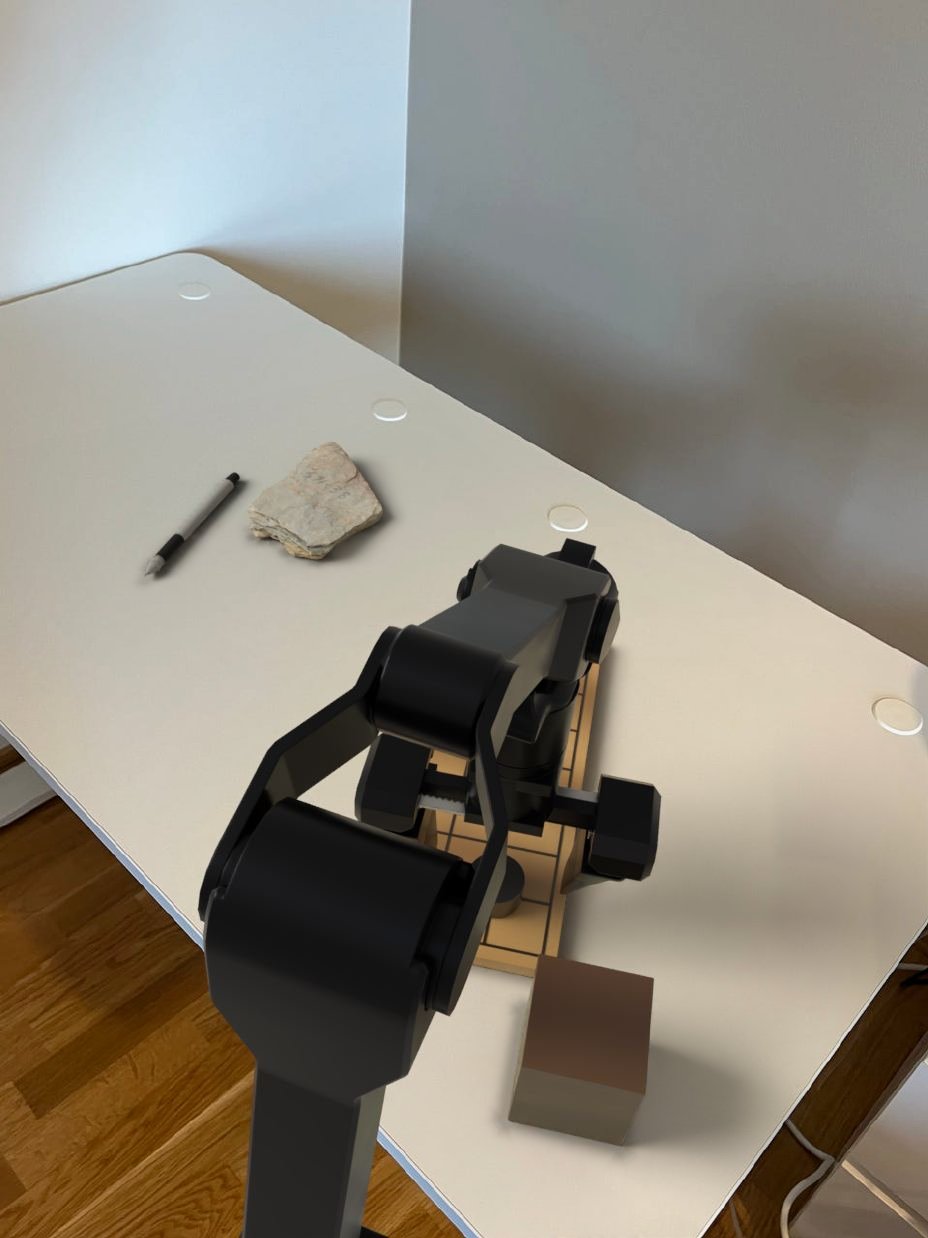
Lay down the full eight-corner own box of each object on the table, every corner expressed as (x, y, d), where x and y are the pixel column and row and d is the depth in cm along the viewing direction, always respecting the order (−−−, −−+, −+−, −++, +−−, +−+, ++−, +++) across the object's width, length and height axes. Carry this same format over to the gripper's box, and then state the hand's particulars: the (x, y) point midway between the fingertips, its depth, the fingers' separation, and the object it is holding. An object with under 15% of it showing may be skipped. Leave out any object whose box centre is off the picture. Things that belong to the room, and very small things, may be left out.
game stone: (517, 923, 73) (520, 908, 72) (460, 911, 74) (462, 896, 72) (526, 874, 76) (529, 858, 75) (471, 862, 76) (473, 847, 75)
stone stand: (621, 1147, 64) (645, 1094, 59) (507, 1120, 65) (520, 1066, 59) (631, 1035, 69) (654, 977, 64) (525, 1012, 70) (538, 952, 64)
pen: (242, 482, 108) (241, 472, 107) (151, 583, 96) (149, 573, 95) (230, 479, 108) (229, 468, 107) (139, 579, 97) (137, 568, 96)
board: (552, 982, 72) (555, 973, 71) (350, 938, 73) (350, 929, 72) (601, 648, 94) (604, 637, 93) (446, 619, 96) (447, 609, 95)
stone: (327, 456, 112) (326, 436, 110) (411, 493, 108) (412, 472, 106) (233, 529, 102) (231, 508, 101) (322, 572, 99) (321, 551, 97)
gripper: (686, 661, 67) (641, 806, 78) (397, 607, 69) (392, 757, 80) (677, 803, 59) (628, 943, 70) (350, 739, 61) (353, 885, 72)
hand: (497, 874), depth 73 cm, fingers open, 9 cm apart
